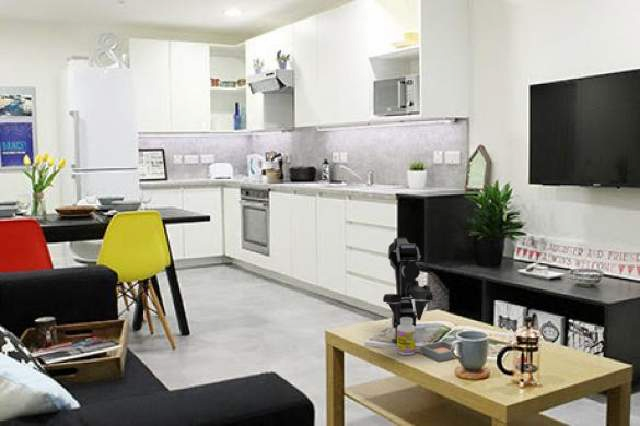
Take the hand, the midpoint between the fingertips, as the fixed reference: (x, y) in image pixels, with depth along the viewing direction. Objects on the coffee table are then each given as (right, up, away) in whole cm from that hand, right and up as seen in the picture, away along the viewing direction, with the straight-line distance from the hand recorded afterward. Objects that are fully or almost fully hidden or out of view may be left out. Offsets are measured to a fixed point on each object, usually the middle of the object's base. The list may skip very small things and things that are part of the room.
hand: (408, 321), depth 247 cm
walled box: (+12, -12, 0) cm, 17 cm away
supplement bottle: (-1, -12, +3) cm, 13 cm away
